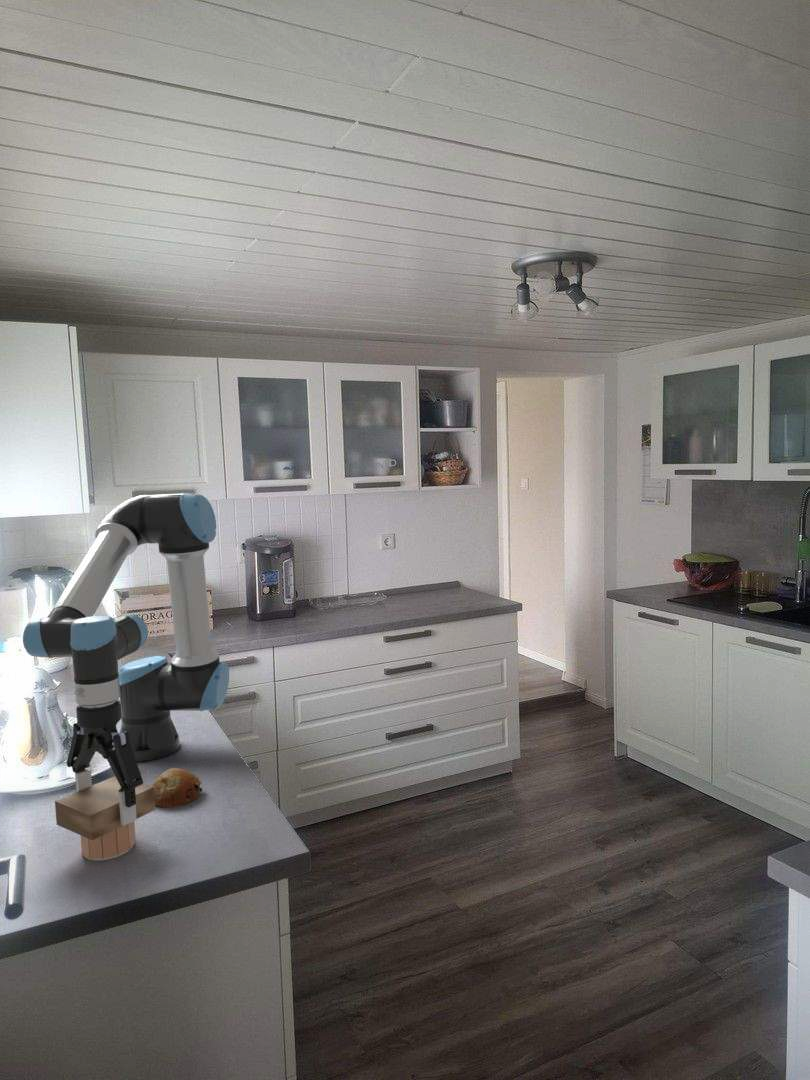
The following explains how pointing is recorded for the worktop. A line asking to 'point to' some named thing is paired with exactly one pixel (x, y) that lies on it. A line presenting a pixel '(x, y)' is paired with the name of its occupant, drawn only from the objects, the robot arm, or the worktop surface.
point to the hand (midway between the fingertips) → (106, 813)
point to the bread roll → (176, 788)
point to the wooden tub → (109, 843)
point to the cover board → (99, 808)
